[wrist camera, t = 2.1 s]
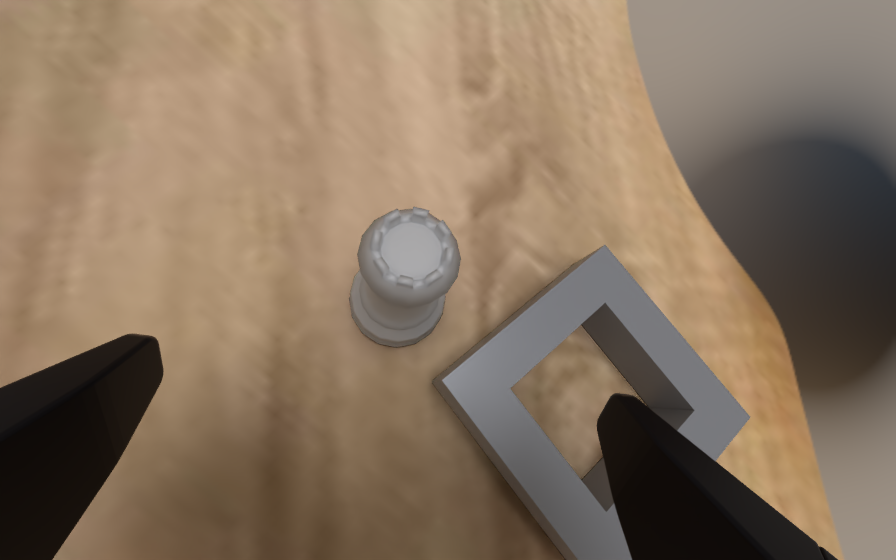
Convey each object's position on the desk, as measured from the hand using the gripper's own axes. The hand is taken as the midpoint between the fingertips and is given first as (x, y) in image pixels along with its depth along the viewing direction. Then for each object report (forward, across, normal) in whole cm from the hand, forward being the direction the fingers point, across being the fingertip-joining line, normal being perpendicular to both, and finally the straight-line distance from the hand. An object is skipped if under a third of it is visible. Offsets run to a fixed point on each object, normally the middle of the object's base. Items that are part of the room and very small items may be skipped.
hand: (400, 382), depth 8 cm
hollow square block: (+8, -9, +7) cm, 14 cm away
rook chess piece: (+10, 0, +5) cm, 12 cm away
